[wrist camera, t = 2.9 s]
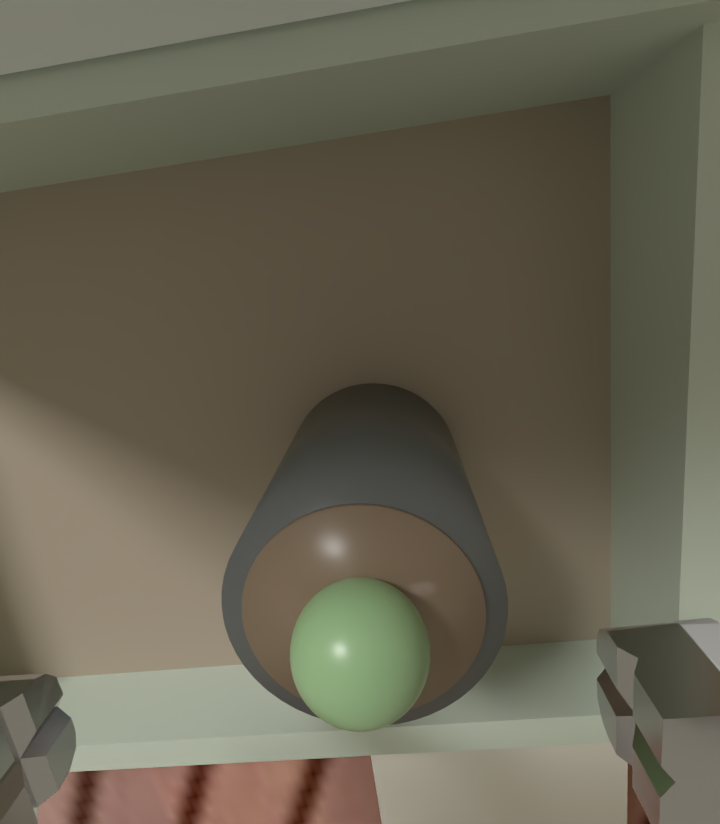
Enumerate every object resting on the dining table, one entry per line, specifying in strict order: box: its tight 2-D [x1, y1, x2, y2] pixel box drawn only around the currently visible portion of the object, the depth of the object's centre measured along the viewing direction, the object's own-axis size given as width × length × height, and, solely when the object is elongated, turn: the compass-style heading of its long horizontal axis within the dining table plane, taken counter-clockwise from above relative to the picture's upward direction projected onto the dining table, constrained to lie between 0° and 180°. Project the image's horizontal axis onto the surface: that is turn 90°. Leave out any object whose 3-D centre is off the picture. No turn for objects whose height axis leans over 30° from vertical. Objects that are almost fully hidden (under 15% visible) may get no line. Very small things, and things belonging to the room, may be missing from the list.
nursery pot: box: [221, 383, 508, 732], centre depth 11 cm, size 5×5×9 cm
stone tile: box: [371, 743, 628, 824], centre depth 19 cm, size 9×9×1 cm
